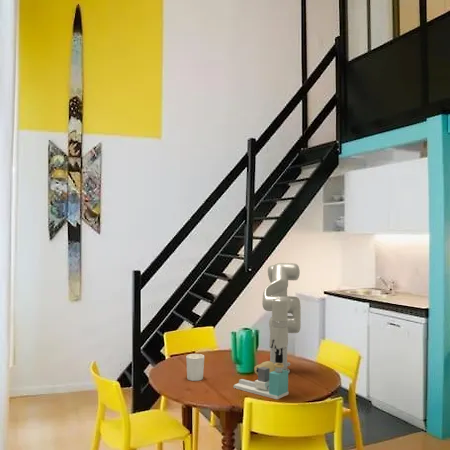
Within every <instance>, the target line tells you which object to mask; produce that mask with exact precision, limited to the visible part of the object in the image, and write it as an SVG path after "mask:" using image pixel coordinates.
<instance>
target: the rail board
mask: <svg viewBox="0 0 450 450" xmlns="http://www.w3.org/2000/svg"><path fill="white" fill-rule="evenodd" d="M235 388H236V390H239V391H243V392H248V393H251V394H255V395H259V396H263V397H266V398H270V399H274V400H280V399H281V398H283V397H286V396H288V395H289V374H288V371H287V370H282V373H277V372H275V371H273V372H270V373H269V386H267V390H264V389H260V388H256V385H255V381H252V380H248V379H244V378H241V379H238V383H235V384H233V389H235Z"/></svg>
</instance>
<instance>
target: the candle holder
mask: <svg viewBox="0 0 450 450" xmlns="http://www.w3.org/2000/svg"><path fill="white" fill-rule="evenodd" d="M185 357H186V362H185V363H186V377H187V380H188V381H192V382H199V381H202V380H203V379H204V369H205V368H204V367H205V366H204V365H205V355H204V354H201V353H190V354H187V355H186V356H185Z"/></svg>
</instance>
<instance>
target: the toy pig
mask: <svg viewBox="0 0 450 450" xmlns="http://www.w3.org/2000/svg"><path fill="white" fill-rule="evenodd" d="M261 367H266V368H270V370H269V373H270V372H273V371H275V369H276V367H274V363H273V362H271V361H270V360H267V361H263V362H261V363H260V364H256V365H254V368H253V369H254V373H255V375H257V376H258V368H261Z"/></svg>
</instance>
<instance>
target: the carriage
mask: <svg viewBox="0 0 450 450" xmlns="http://www.w3.org/2000/svg"><path fill="white" fill-rule="evenodd" d="M269 370H270V368H266V367H261V368H258V375H257V379H256V380H254V382H255V385H256V388H260V389H264V390H267V386H269Z"/></svg>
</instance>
